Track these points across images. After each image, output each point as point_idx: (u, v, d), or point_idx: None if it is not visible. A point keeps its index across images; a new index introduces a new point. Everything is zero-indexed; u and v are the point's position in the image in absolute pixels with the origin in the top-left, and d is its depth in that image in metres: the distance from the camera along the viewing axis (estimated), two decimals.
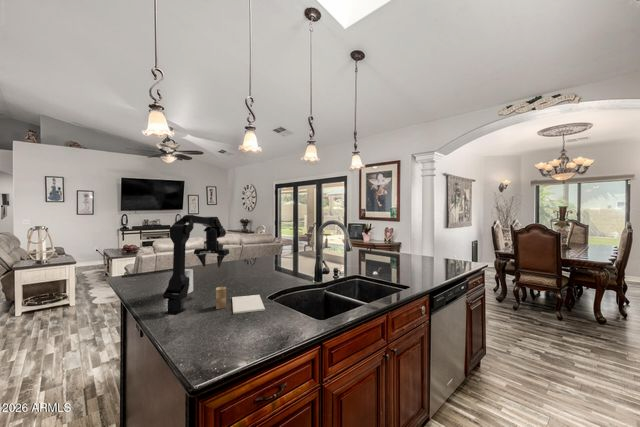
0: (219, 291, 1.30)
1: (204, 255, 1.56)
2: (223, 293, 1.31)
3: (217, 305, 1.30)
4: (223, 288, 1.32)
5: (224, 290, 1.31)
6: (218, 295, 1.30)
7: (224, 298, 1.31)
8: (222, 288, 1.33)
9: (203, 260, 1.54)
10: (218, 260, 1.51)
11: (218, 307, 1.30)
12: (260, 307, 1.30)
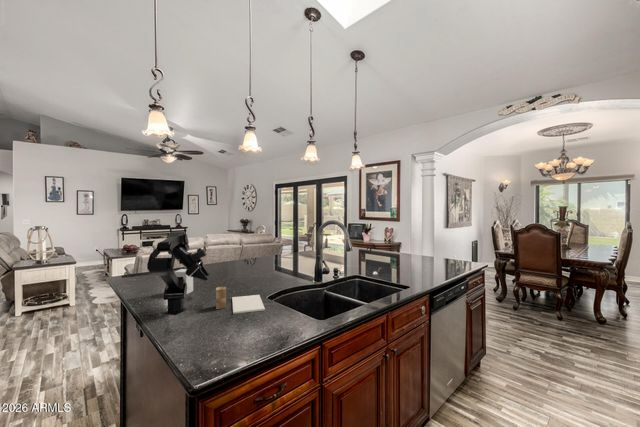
0: (219, 291, 1.30)
1: (200, 265, 1.38)
2: (223, 293, 1.31)
3: (217, 305, 1.30)
4: (223, 288, 1.32)
5: (224, 290, 1.31)
6: (218, 295, 1.30)
7: (224, 298, 1.31)
8: (222, 288, 1.33)
9: (201, 271, 1.38)
10: None
11: (218, 307, 1.30)
12: (260, 307, 1.30)
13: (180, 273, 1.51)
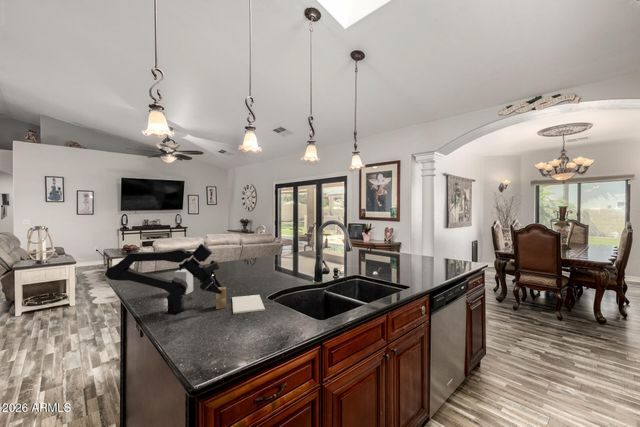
0: None
1: (213, 278, 1.36)
2: (223, 293, 1.31)
3: (217, 305, 1.30)
4: (223, 288, 1.32)
5: (224, 290, 1.31)
6: (218, 295, 1.30)
7: (224, 298, 1.31)
8: (222, 288, 1.33)
9: (215, 284, 1.36)
10: None
11: (218, 307, 1.30)
12: (260, 307, 1.30)
13: (180, 273, 1.51)
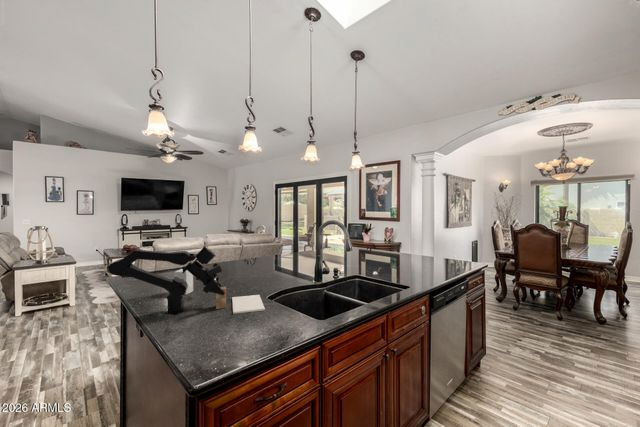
0: None
1: None
2: None
3: (217, 305, 1.30)
4: (223, 288, 1.32)
5: (224, 290, 1.31)
6: (218, 295, 1.30)
7: (224, 298, 1.31)
8: (222, 288, 1.33)
9: None
10: None
11: (218, 307, 1.30)
12: (260, 307, 1.30)
13: (180, 273, 1.51)
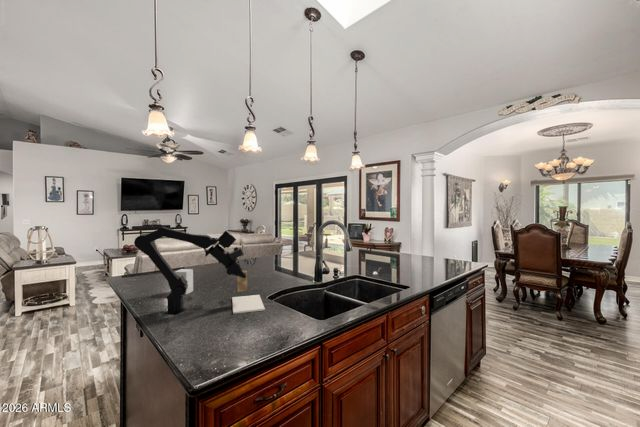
0: None
1: None
2: None
3: (239, 288, 1.33)
4: (244, 271, 1.35)
5: (245, 273, 1.34)
6: (240, 278, 1.33)
7: (245, 281, 1.34)
8: (243, 271, 1.36)
9: None
10: None
11: (240, 289, 1.33)
12: (260, 307, 1.30)
13: (180, 273, 1.51)
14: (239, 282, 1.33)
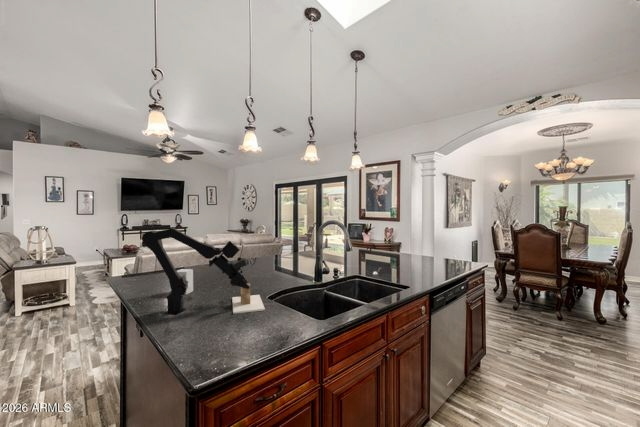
0: None
1: None
2: (247, 289, 1.35)
3: (242, 301, 1.34)
4: None
5: None
6: (243, 291, 1.34)
7: (248, 294, 1.35)
8: None
9: None
10: None
11: (243, 302, 1.34)
12: (260, 307, 1.30)
13: (180, 273, 1.51)
14: (242, 295, 1.34)
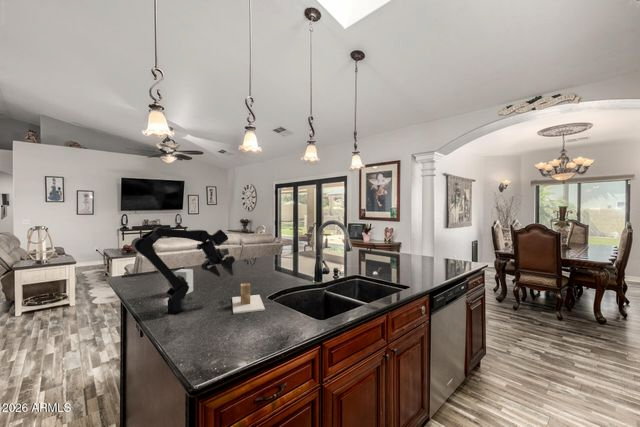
0: (244, 287, 1.34)
1: (214, 266, 1.45)
2: (247, 289, 1.35)
3: (242, 301, 1.34)
4: (247, 284, 1.36)
5: (248, 286, 1.35)
6: (243, 291, 1.34)
7: (248, 294, 1.35)
8: (246, 284, 1.37)
9: (215, 271, 1.44)
10: (227, 271, 1.38)
11: (243, 302, 1.34)
12: (260, 307, 1.30)
13: (180, 273, 1.51)
14: (242, 295, 1.34)
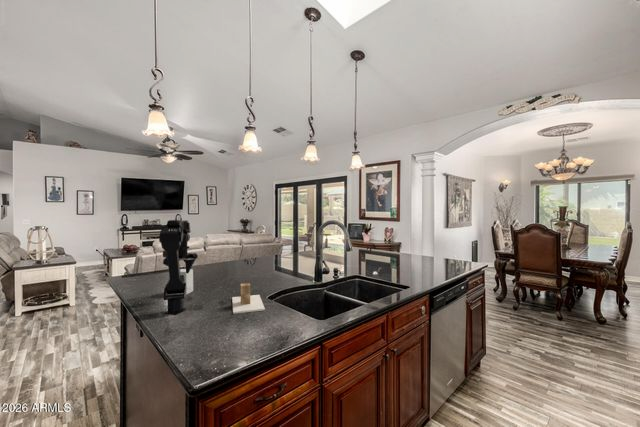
0: (244, 287, 1.34)
1: None
2: (247, 289, 1.35)
3: (242, 301, 1.34)
4: (247, 284, 1.36)
5: (248, 286, 1.35)
6: (243, 291, 1.34)
7: (248, 294, 1.35)
8: (246, 284, 1.37)
9: None
10: (191, 265, 1.47)
11: (243, 302, 1.34)
12: (260, 307, 1.30)
13: (180, 273, 1.51)
14: (242, 295, 1.34)
